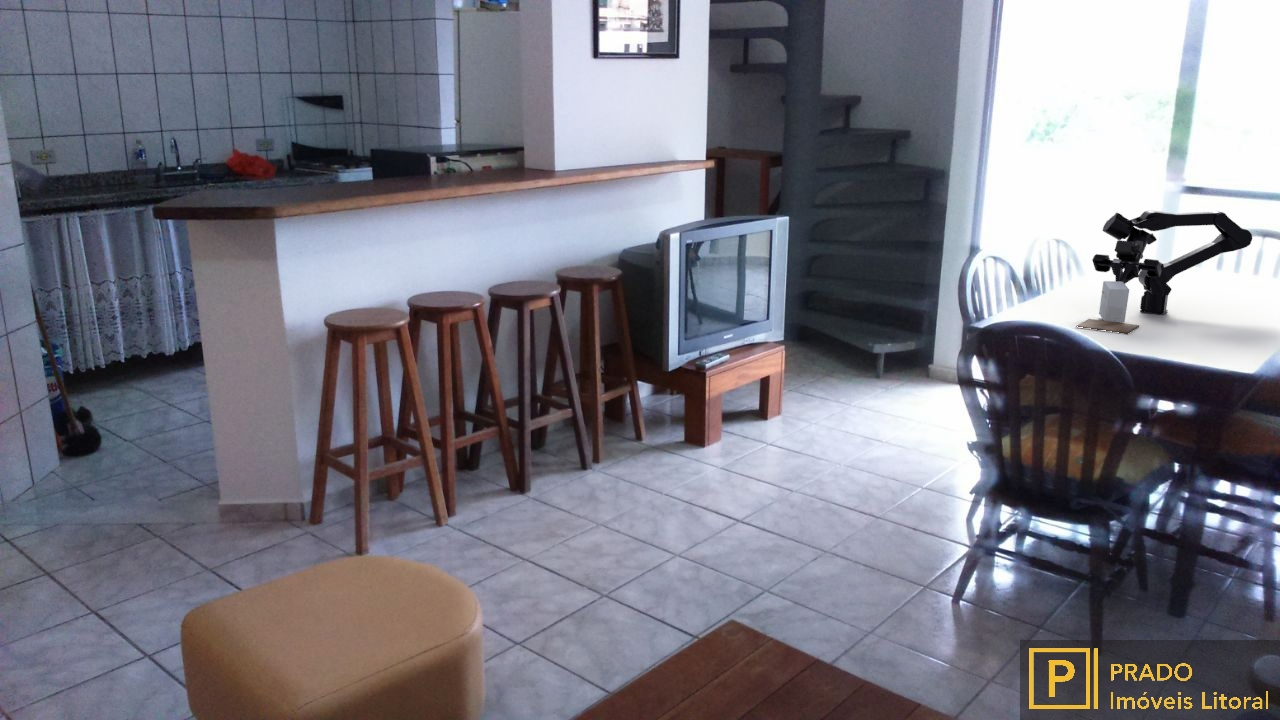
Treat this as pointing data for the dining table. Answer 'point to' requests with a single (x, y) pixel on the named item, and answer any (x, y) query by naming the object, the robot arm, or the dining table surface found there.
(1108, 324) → the walnut board
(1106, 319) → the small box
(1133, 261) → the robot arm
